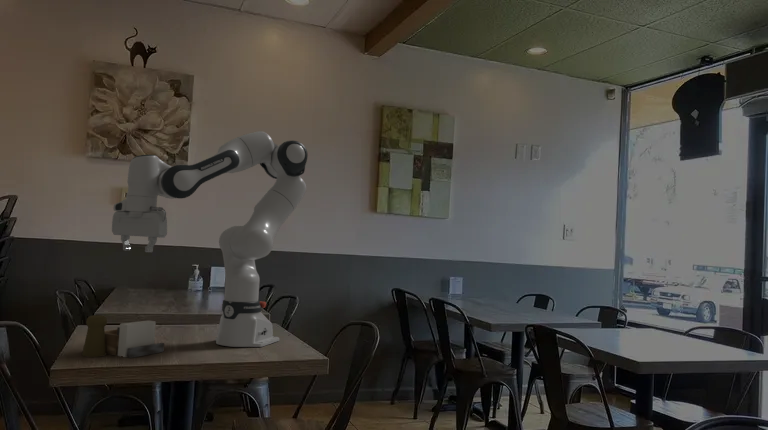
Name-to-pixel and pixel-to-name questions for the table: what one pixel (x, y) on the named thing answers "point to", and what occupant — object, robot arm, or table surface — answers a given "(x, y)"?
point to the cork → (95, 336)
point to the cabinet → (112, 348)
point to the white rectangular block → (135, 335)
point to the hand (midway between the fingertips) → (137, 251)
